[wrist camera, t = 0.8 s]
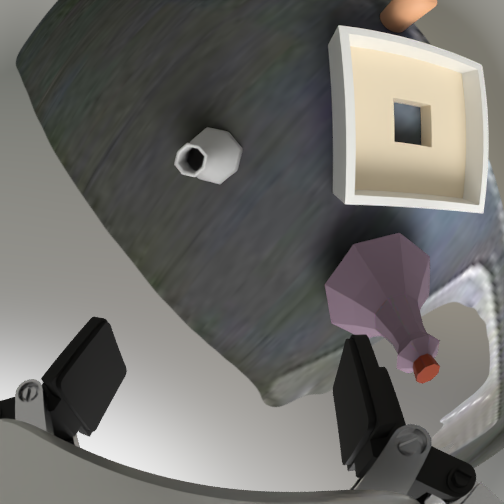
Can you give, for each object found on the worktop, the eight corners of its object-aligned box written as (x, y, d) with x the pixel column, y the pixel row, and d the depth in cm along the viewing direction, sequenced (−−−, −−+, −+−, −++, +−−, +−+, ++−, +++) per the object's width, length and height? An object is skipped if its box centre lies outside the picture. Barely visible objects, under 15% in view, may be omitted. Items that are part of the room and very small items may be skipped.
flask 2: (308, 317, 41) (321, 428, 23) (331, 213, 35) (384, 288, 17) (400, 324, 41) (445, 416, 22) (433, 232, 34) (518, 300, 16)
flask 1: (205, 117, 32) (179, 109, 23) (253, 146, 33) (244, 147, 24) (177, 164, 34) (143, 173, 25) (222, 193, 35) (202, 211, 26)
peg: (377, 7, 23) (403, -23, 14) (402, 13, 23) (432, -13, 13) (381, 29, 24) (410, 1, 15) (407, 35, 24) (440, 12, 15)
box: (327, 45, 27) (338, 25, 20) (455, 72, 25) (481, 64, 18) (332, 192, 34) (345, 204, 28) (455, 201, 32) (483, 213, 26)
